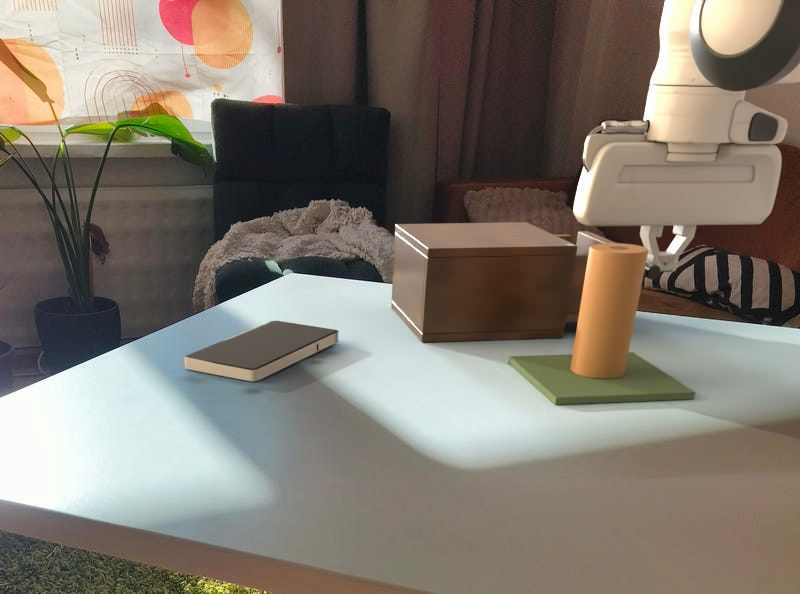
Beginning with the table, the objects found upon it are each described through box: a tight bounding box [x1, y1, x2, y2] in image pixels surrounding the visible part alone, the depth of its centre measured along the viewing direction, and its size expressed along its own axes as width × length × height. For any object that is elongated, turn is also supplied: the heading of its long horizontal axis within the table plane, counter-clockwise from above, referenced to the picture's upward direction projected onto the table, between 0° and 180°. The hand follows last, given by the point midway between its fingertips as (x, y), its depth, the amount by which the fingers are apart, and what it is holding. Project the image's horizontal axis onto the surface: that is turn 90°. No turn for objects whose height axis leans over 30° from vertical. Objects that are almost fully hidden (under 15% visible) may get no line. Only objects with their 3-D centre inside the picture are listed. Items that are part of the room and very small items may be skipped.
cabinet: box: [390, 221, 577, 343], centre depth 92 cm, size 15×15×9 cm
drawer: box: [554, 230, 662, 323], centre depth 93 cm, size 18×13×7 cm
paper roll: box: [570, 242, 648, 379], centre depth 75 cm, size 5×5×10 cm
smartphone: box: [183, 320, 339, 382], centre depth 83 cm, size 8×1×15 cm
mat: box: [508, 351, 696, 406], centre depth 78 cm, size 12×12×1 cm
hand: (659, 271), depth 94 cm, fingers closed
